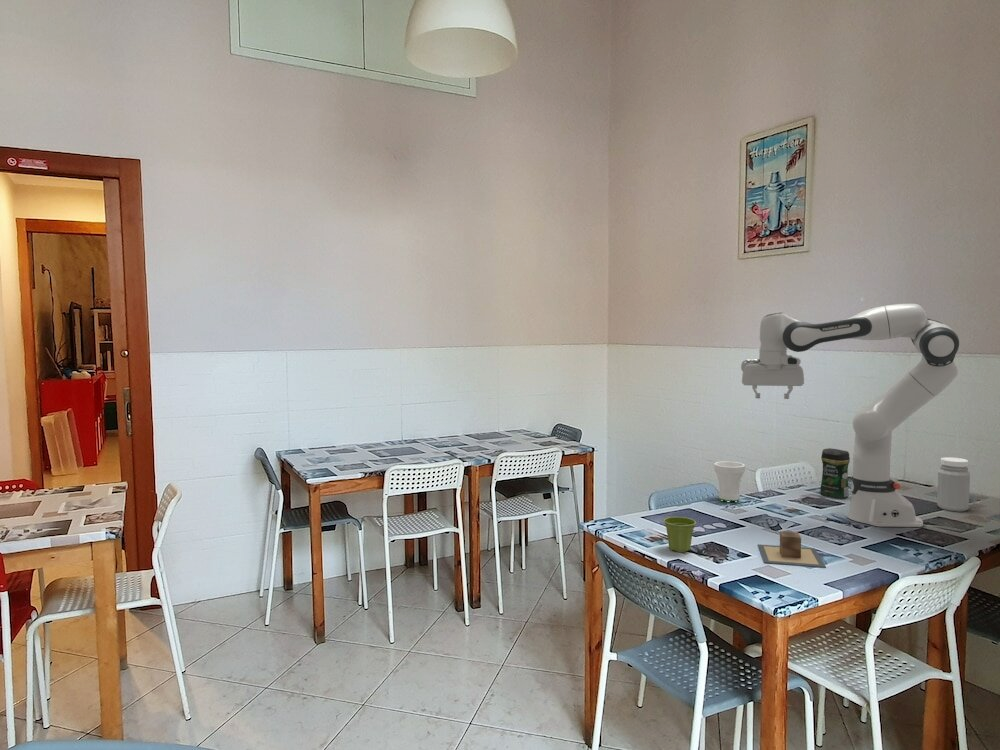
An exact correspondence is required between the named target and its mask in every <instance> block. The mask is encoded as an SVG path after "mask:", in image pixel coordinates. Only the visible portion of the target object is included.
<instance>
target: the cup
mask: <svg viewBox="0 0 1000 750" xmlns="http://www.w3.org/2000/svg"><path fill="white" fill-rule="evenodd" d="M713 465H714V467H713V469H714V472H715V474H716V477H717V481H718V489H719V490H718V499H719V501H720V502H722V501H721V500H724V502H726V501H731V500H732V501H731V502H733V501H738V502H739V500H740V498H741V497H740V496H741V494H740V487H741V481H742V477H743V475H744V473H745V470H746V465H745V464H744V463H742V462H739V461H738V462H737V461H730V460H729V461H723V460H722V461H716V462H714V463H713Z"/></svg>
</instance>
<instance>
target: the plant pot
mask: <svg viewBox="0 0 1000 750" xmlns="http://www.w3.org/2000/svg"><path fill="white" fill-rule="evenodd" d="M663 523H664V525H665V526H664V527H665V528H666V532H667V541H668V549H669V550H670V551H674V552H676V551H677V553H687V552H688V551H691V548H692V547H691V546H692V539H693V532H694V529H695V525H697V521H696V520H694V519H693V518H690V517H685V516H683V517H682V516H669V517H665V518H663ZM686 551H687V552H686Z"/></svg>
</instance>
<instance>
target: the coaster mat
mask: <svg viewBox="0 0 1000 750" xmlns="http://www.w3.org/2000/svg"><path fill="white" fill-rule="evenodd" d="M757 547H758V550H759V553H760V555H761V558H762V561H763V564H769V565H770V564H771V565H783V566H794V567H795V566H797V567H808V568H809V567H811V568H821V569H822V568H823V569H824V568H825V569H826V568H827V566H826V564H825V563H824V561H823V559H822V558H821V556H820V554H819V553H818V551H817V550H816V548H814V547H802V546H801V558H789V557H782V556H781V554H780V545H772V544H759V543H758V544H757Z"/></svg>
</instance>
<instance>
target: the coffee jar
mask: <svg viewBox="0 0 1000 750" xmlns="http://www.w3.org/2000/svg"><path fill="white" fill-rule="evenodd" d="M850 461H851V459H850V453H849V451H847V450H843V449H837V448H832V447H831V448H830V447H828V448H824V449H822V452H821V463H822V474H821V483H820V492H819V493H820V494H821V495H822V496H825V497H827V498H833V499H843V498H844V499H846V498H848V497H849V494H850V493H849V491H850V490H849V473H848V472H849V471H848V470H849V464H850Z"/></svg>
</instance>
